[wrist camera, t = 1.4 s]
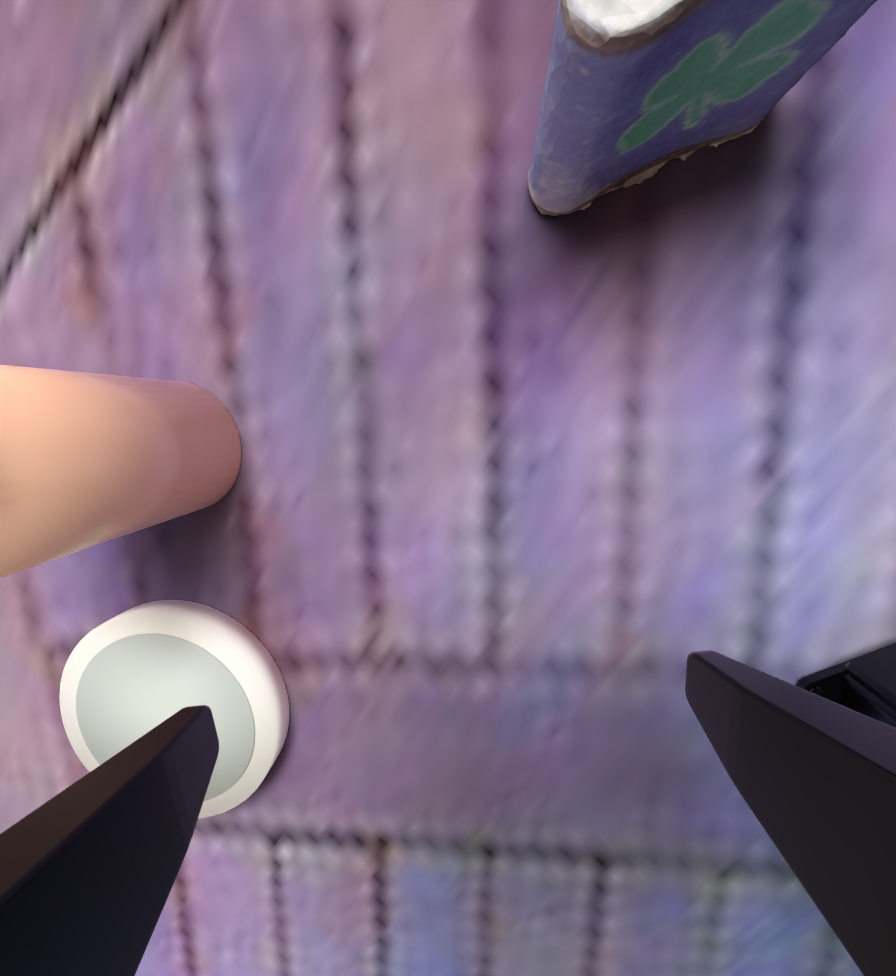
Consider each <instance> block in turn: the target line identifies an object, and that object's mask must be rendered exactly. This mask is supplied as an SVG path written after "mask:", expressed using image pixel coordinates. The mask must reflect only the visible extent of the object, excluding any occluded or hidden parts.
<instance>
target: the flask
mask: <svg viewBox="0 0 896 976" xmlns="http://www.w3.org/2000/svg"><path fill="white" fill-rule="evenodd" d="M876 1H877V0H558V6H557V14H556V22H555V29H554V37H553V44H552V49H551V55H550V60H549V65H548V71H547V76H546V81H545V86H544V91H543V96H542V102H541V106H540V118H539V126H538V131H537V137H536V142H535V148H534V153H533V159H532V163H531V166H530V169H529V173H528V188H529V192H530V196H531V199H532V201H533V203H534V204H535V205H536V207H537V208H538V210H539V211H540V213H541V214H547V215H553V216H557V215H561V214H569V213H571V212H574V211H578V210H584V209H585V208H586V207H589V206H591V202H592V201H593V200H594V199H596V198H597V197H598V196H600V195H603V194H605V193H608V192H611V190H617V189H618V188H621V187H623V188H624V189H625V188H627V187H629V186H631V185H632V184H636V183H638V184H641V182H642V181H643V180H645V179H647V178H650V177H652V176H653V175H654V174H655V172H656V173H658V172H657V169H660V168H662V166H663V165H664V164H665V163H666V162H667V161H668V160H671V159H675V158H678V157H679V158H680V159H682V160H683V161H684V162H685V160H686V158H687V157H688V156H690V154H692V153H693V152H694V151H695V150H696V149H699V148H701V147H703V146H715V147H718V145H719V144H720V143H723V142H725V141H728V140H730V139H735V138H737V137H739V136H741V135H743V134H744V135H745V134H748V133H750V132H752V131H753V130H754V129H755V127H756V126H757V125H758V124H759V123H760V122H761V121H762V120H763V119H764V117H765V116H766V115H767V114H768V113H769V111H770V110H771V109H772V108H773V107H774V106H775V104H776V103H777V102H778V101H779V100H780V99H781V98H782V97H783V96H784V95H785V94H786V93H787V92H788V91H789V90H790V89H791V88H792V87H793V86H794V85H795V84H796V83H797V82H798V81H799V80H800V79H801V78H802V76H803V75H804V74H805V73H806V72H807V70H808V69H810V68H811V67H812V66H813V65H814V64H815V63H816V62H817V61H818V60H820V59H821V58H822V57H823V56H824V55H825V54H826V53H827V52H828V51H829V50H830V49H831V48H832V47H833V45H834V44H835V43H836V42H837V41H838V40H839V39H841V38H842V37H843V36H844V35H845V33H846V32H847V31H848V29H849V28H850V27H851V26H852V25H853V24H854V23H855V22H856V21H857V20H858V19H859V18H860V17H861V16H862V15H863V14H864V13H865V12H866V11H867V10H868V9H869V8H870V7H871V6H872V5H873V4H874V3H875V2H876Z"/></svg>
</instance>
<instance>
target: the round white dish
mask: <svg viewBox="0 0 896 976" xmlns="http://www.w3.org/2000/svg"><path fill="white" fill-rule="evenodd" d="M199 705H207V706H209V707H210V709H211V711H212V714H213V719H214V723H215V727H216V731H217V735H218V739H219V753H218V757H217V761H216V764H215V767H214V770H213V773H212V776H211V779H210V783H209V786H208V789H207V792H206V795H205V798H204V801H203V804H202V808H201V811H200V814H199V817H198V819H200V818H205V817H211V816H215V815H218V814H221V813H224V812H226V811H228V810H230V809H232V808H234V807H236V806H238V805H239V804H241V803H242V802H243V801H245V800H246V799H247V798H248V797H249V796H250V795H251V794H252V793H254V792H255V790H256V789H257V788H258V787H259V785H260V784H261V783H262V781H263V780H264V778H265V776H266V775H267V773H268V772H269V770H270V768H271V767H272V765H273V764H274V762H275V760H276V759H277V757H278V755H279V753H280V751H281V749H282V748H283V745H284V742H285V739H286V737H287V732H288V727H289V714H290V710H289V700H288V694H287V690H286V686H285V683H284V680H283V678H282V675H281V672H280V670H279V668H278V667H277V665H276V663H275V661H274V659H273V658H272V656H271V655H270V653H269V652H268V650H267V649H266V647H265V646H264V645H263V644H262V643H261V642H260V641H259V640H258V638H257V637H256V636H255V635H254V634H252V633H251V632H250V631H249V630H248V629H247V628H246V627H245V626H243V625H242V624H240V623H239V622H238V621H236V620H235V619H233V618H232V617H230V616H228V615H226V614H225V613H223V612H221V611H219V610H216V609H214V608H211V607H209V606H206V605H203V604H199V603H195V602H191V601H184V600H158V601H151V602H147V603H143V604H140V605H137V606H135V607H133V608H130V609H128V610H126V611H125V612H123V613H121V614H119V615H117V616H115V617H114V618H112V619H110V620H108V621H106V622H105V623H103V624H101V625H100V626H98V627H96V628H95V629H93V630H92V631H91V632H89V633H88V634H87V635H86V636H85V637H84V638H83V639H82V640H81V641H80V642H79V643H78V645H77V646H76V647H75V648H74V650H73V651H72V653H71V655H70V657H69V658H68V660H67V663H66V665H65V668H64V671H63V675H62V679H61V684H60V710H61V715H62V721H63V724H64V728H65V731H66V734H67V736H68V739H69V741H70V743H71V745H72V747H73V749H74V751H75V752H76V754H77V756H78V757H79V759H80V761H81V762H82V763H83V765H84V766H85V767H86V768H87V770H88V771H89V772H91V771H92V770H94V769H95V768H97V767H98V766H100V765H101V764H103V763H104V762H105V761H107V760H108V759H110V758H111V757H113V756H114V755H116V754H117V753H119V752H120V751H121V750H123V749H124V748H126V747H127V746H129V745H130V744H132V743H133V742H134V741H136V740H137V739H139V738H140V737H142V736H143V735H145V734H146V733H147V732H149V731H150V730H152V729H153V728H155V727H156V726H158V725H159V724H161V723H162V722H163V721H165V720H166V719H168V718H169V717H171V716H172V715H174V714H175V713H176V712H178V711H179V710H181V709H182V708H185V707H190V706H199Z"/></svg>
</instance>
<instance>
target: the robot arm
mask: <svg viewBox="0 0 896 976" xmlns="http://www.w3.org/2000/svg"><path fill="white" fill-rule="evenodd" d="M813 687H816V688H815V690H814V691H812V692H810V690H811V689H812V688H813ZM685 691H686V697H687V700H688V702H689V704H690V706H691V708H692V710H693V712H694V713H695V715H696V717H697V719H698V721H699V722H700V724H701V726H702V728H703V730H704V731H705V733H706V735H707V737H708V739H709V740H710V742H711V744H712V746H713V748H714V749H715V751H716V753H717V755H718V757H719V758H720V760H721V762H722V764H723V766H724V767H725V769H726V771H727V773H728V774H729V776H730V778H731V779H732V781H733V783H734V784H735V786H736V787H737V789H738V791H739V792H740V794H741V795H742V797H743V798H744V800H745V801H746V803H747V804H748V806H749V807H750V808H751V810H752V811H753V813H754V814H755V816H756V817H757V819H758V820H759V822H760V823H761V825H762V826H763V828H764V829H765V831H766V832H767V834H768V835H769V836H770V838H771V839H772V841H773V842H774V844H775V845H776V847H777V848H778V850H779V851H780V853H781V854H782V856H783V857H784V859H785V860H786V862H787V863H788V865H789V866H790V867H791V869H792V870H793V872H794V873H795V875H796V876H797V878H798V879H799V881H800V882H801V884H802V885H803V887H804V888H805V890H806V891H807V893H808V894H809V895H810V897H811V898H812V900H813V901H814V903H815V904H816V906H817V907H818V909H819V910H820V912H821V913H822V915H823V916H824V918H825V919H826V921H827V922H828V923H829V925H830V926H831V928H832V929H833V931H834V932H835V934H836V935H837V937H838V938H839V940H840V941H841V943H842V944H843V946H844V947H845V949H846V950H847V952H848V953H849V954H850V956H851V957H852V959H853V960H854V962H855V963H856V965H857V966H858V968H859V969H860V971H861V972H862V974H863V975H864V976H896V643H895V644H893V645H890V646H887V647H884V648H882V649H879V650H876V651H874V652H871V653H868V654H866V655H863V656H860V657H858V658H855V659H852V660H850V661H847V662H844V663H842V664H839V665H836V666H834V667H831V668H828V669H826V670H823V671H820V672H818V673H815V674H812V675H810V676H807V677H805V678H803V679H801V680H800V682H799V683H798V687H797V686H795V685H792V684H790V683H787V682H785V681H783V680H780V679H778V678H776V677H773V676H771V675H769V674H766V673H764V672H761V671H759V670H757V669H754V668H752V667H750V666H747V665H745V664H743V663H740V662H738V661H735V660H733V659H731V658H728V657H726V656H724V655H721V654H719V653H717V652H714V651H699V652H692V653H690V654H689V655H688V658H687V668H686V685H685ZM218 753H219V739H218V735H217V731H216V727H215V723H214V719H213V714H212V711H211V709H210V707H209V706H207V705H199V706H190V707H185V708H182V709H181V710H179V711H178V712H176V713H175V714H174V715H172V716H171V717H169V718H168V719H166V720H165V721H163V722H162V723H161V724H159V725H158V726H156V727H155V728H153V729H152V730H150V731H149V732H147V733H146V734H145V735H143V736H142V737H140V738H139V739H137V740H136V741H134V742H133V743H132V744H130V745H129V746H127V747H126V748H124V749H123V750H121V751H120V752H119V753H117V754H116V755H114V756H113V757H111V758H110V759H108V760H107V761H105V762H104V763H103V764H101V765H100V766H98V767H97V768H95V769H94V770H92V771H91V772H90V773H88V774H87V775H85V776H84V777H82V778H81V779H79V780H78V781H76V782H75V783H74V784H72V785H71V786H69V787H68V788H66V789H65V790H63V791H62V792H61V793H59V794H58V795H56V796H55V797H53V798H52V799H50V800H49V801H47V802H46V803H45V804H43V805H42V806H40V807H39V808H37V809H36V810H34V811H33V812H32V813H30V814H29V815H27V816H26V817H24V818H23V819H21V820H20V821H19V822H17V823H16V824H14V825H13V826H11V827H10V828H8V829H7V830H5V831H4V832H3V833H1V834H0V976H135V973H136V971H137V969H138V966H139V964H140V962H141V959H142V957H143V954H144V952H145V950H146V947H147V945H148V943H149V940H150V938H151V936H152V933H153V931H154V928H155V926H156V924H157V921H158V919H159V917H160V914H161V912H162V910H163V907H164V905H165V902H166V900H167V898H168V895H169V893H170V891H171V888H172V886H173V884H174V881H175V879H176V877H177V874H178V872H179V869H180V867H181V865H182V862H183V860H184V857H185V855H186V852H187V850H188V847H189V844H190V841H191V838H192V835H193V832H194V829H195V826H196V823H197V820H198V817H199V814H200V811H201V808H202V804H203V801H204V798H205V795H206V792H207V789H208V786H209V783H210V779H211V776H212V773H213V770H214V767H215V764H216V761H217V757H218Z"/></svg>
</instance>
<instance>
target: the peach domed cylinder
mask: <svg viewBox="0 0 896 976" xmlns="http://www.w3.org/2000/svg"><path fill="white" fill-rule="evenodd" d="M241 459H242V448H241V440H240V436H239V432H238V429H237V427H236V424H235V422H234V420H233V418H232V416H231V415H230V413H229V412H228V410H227V409H226V407H225V406H224V405H223V404H222V403H221V402H220V401H219V400H218V399H217V398H216V397H215V396H214V395H212V394H211V393H210V392H208V391H207V390H205V389H203V388H201V387H200V386H197V385H195V384H192V383H188V382H184V381H176V380H165V379H153V378H142V377H131V376H120V375H108V374H97V373H86V372H75V371H64V370H52V369H41V368H30V367H19V366H7V365H0V578H2V577H5V576H8V575H11V574H14V573H17V572H20V571H22V570H25V569H28V568H31V567H34V566H37V565H40V564H43V563H46V562H49V561H52V560H54V559H57V558H60V557H63V556H66V555H69V554H72V553H75V552H78V551H81V550H83V549H86V548H89V547H92V546H95V545H98V544H101V543H104V542H107V541H110V540H113V539H115V538H118V537H121V536H124V535H127V534H130V533H133V532H136V531H139V530H142V529H145V528H147V527H150V526H153V525H156V524H159V523H162V522H165V521H168V520H171V519H174V518H177V517H179V516H182V515H185V514H188V513H191V512H194V511H197V510H200V509H203V508H206V507H208V506H210V505H212V504H214V503H216V502H217V501H219V500H220V499H221V498H222V497H224V496H225V495H226V494H227V492H228V491H229V490H230V489H231V487H232V486H233V484H234V483H235V480H236V478H237V476H238V473H239V470H240V465H241Z"/></svg>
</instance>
